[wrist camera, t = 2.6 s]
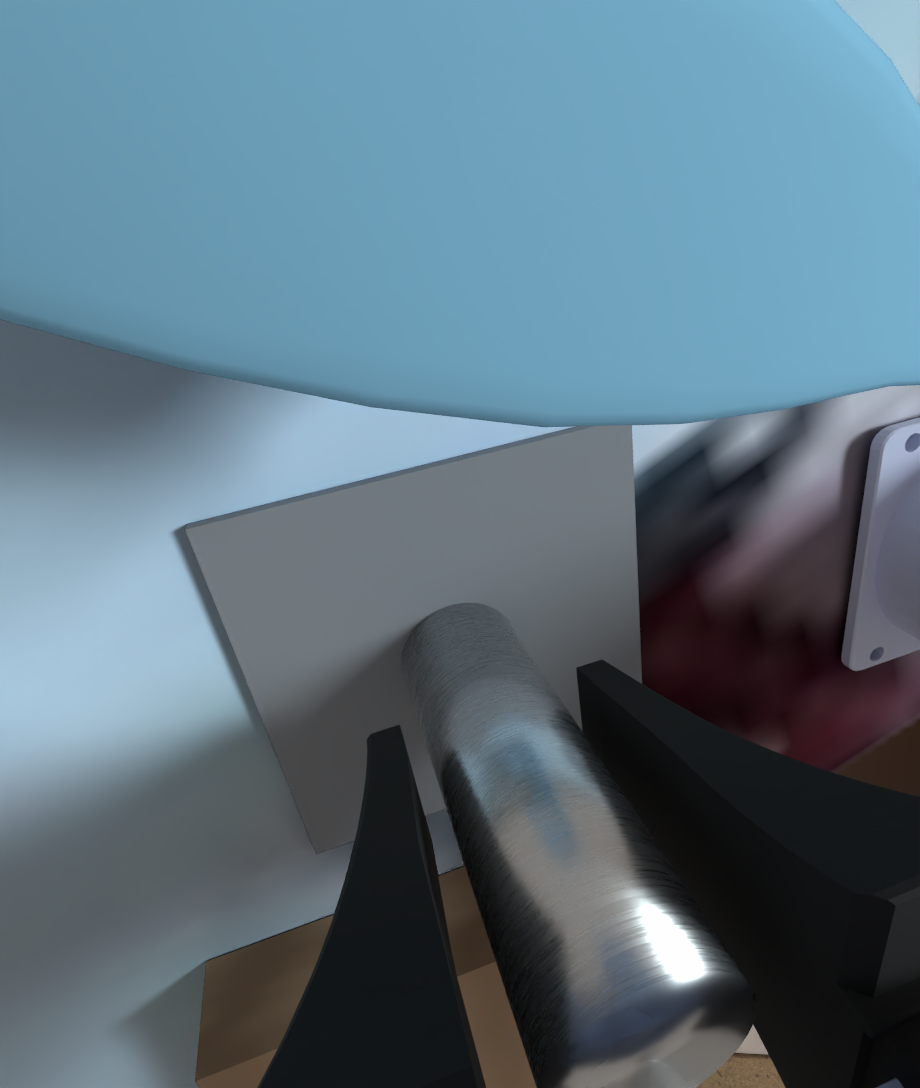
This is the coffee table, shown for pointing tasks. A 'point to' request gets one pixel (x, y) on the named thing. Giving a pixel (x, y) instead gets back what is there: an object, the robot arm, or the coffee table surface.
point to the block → (285, 969)
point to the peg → (567, 874)
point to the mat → (420, 595)
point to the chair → (469, 200)
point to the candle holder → (745, 1073)
